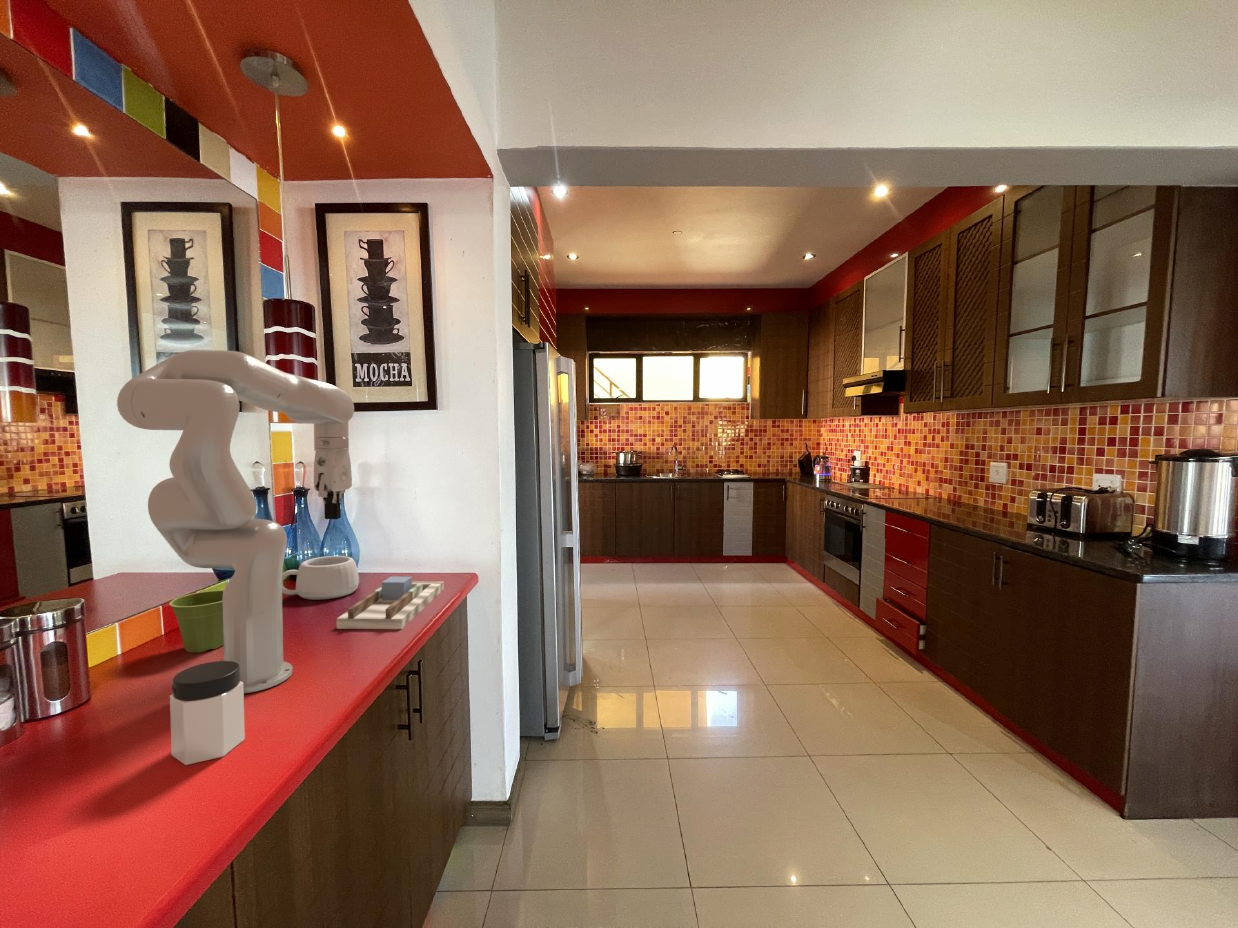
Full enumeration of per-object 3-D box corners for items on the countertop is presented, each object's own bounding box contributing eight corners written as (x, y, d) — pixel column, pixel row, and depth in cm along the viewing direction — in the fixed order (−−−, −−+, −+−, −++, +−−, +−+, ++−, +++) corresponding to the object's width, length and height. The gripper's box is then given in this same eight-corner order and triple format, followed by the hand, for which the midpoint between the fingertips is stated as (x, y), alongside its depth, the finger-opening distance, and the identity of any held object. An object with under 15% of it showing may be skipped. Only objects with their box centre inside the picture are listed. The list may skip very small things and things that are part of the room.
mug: (351, 582, 173) (351, 552, 172) (365, 595, 160) (365, 562, 159) (273, 594, 159) (272, 561, 158) (281, 609, 146) (280, 572, 146)
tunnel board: (401, 628, 132) (401, 609, 132) (336, 628, 132) (336, 608, 132) (443, 589, 166) (443, 573, 166) (392, 588, 166) (391, 573, 166)
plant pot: (178, 642, 122) (177, 593, 122) (241, 633, 128) (240, 587, 127) (163, 661, 112) (161, 609, 111) (232, 652, 117) (231, 601, 117)
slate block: (403, 600, 147) (403, 582, 147) (381, 600, 147) (381, 582, 147) (411, 593, 153) (411, 576, 153) (390, 593, 153) (390, 576, 153)
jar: (205, 731, 86) (203, 658, 86) (255, 732, 86) (253, 659, 86) (157, 765, 77) (154, 684, 77) (212, 766, 77) (210, 685, 77)
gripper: (331, 445, 124) (332, 523, 125) (361, 444, 139) (361, 514, 140) (298, 445, 124) (300, 523, 125) (331, 444, 139) (332, 514, 140)
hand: (332, 518), depth 133 cm, fingers closed
